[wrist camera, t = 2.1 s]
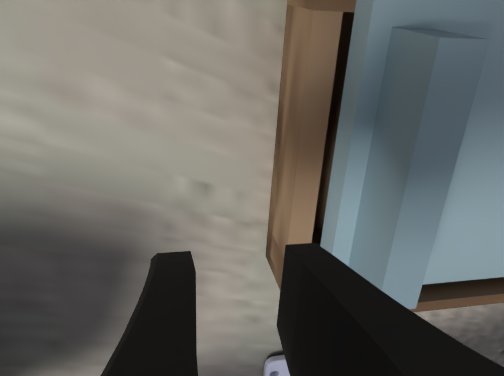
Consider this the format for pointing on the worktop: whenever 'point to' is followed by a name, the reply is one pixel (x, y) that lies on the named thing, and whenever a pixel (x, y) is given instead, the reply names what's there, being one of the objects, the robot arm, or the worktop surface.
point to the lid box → (326, 143)
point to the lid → (420, 146)
